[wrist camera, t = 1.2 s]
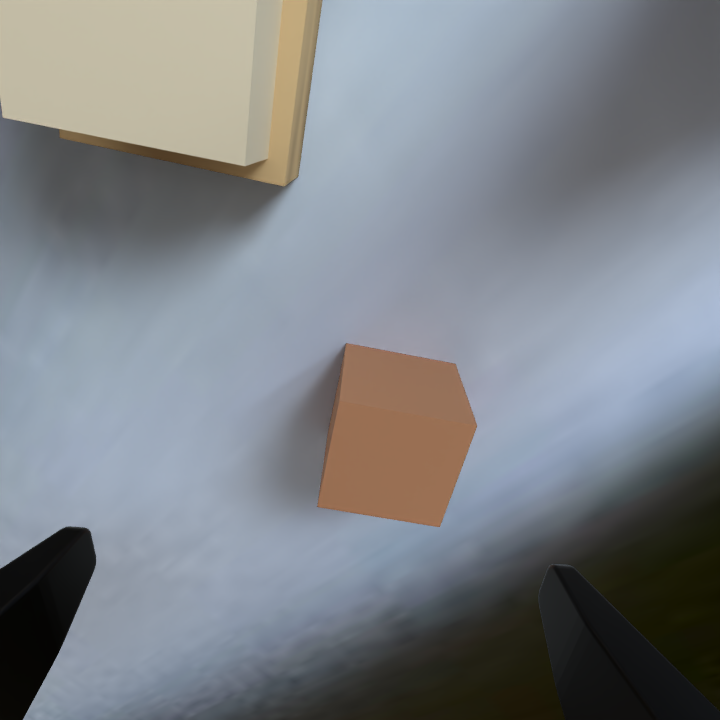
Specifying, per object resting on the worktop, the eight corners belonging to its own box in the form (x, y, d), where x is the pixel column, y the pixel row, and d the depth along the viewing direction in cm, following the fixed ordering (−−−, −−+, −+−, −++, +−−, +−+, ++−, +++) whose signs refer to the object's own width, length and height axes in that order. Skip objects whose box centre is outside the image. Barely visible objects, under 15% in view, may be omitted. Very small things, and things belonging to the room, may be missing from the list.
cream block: (291, -92, 12) (268, -152, 10) (267, 158, 15) (244, 166, 12) (51, -148, 12) (-43, -228, 9) (71, 118, 14) (2, 117, 12)
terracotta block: (455, 363, 21) (477, 425, 17) (426, 450, 24) (439, 527, 19) (346, 342, 21) (339, 400, 17) (327, 433, 23) (317, 506, 19)
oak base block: (330, -53, 15) (319, -99, 12) (299, 175, 18) (284, 186, 15) (108, -110, 15) (37, -173, 12) (114, 135, 18) (59, 137, 15)
